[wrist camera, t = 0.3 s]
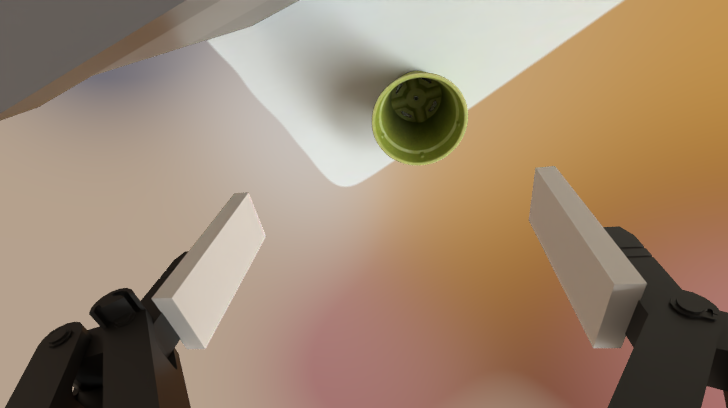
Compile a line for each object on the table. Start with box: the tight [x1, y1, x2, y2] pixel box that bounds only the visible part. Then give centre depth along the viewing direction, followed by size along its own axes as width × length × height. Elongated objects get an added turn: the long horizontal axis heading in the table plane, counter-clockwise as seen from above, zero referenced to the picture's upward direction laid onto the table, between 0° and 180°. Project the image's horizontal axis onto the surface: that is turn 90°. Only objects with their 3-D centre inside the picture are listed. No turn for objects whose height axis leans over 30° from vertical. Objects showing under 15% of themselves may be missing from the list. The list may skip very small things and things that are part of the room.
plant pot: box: [372, 71, 468, 165], centre depth 37 cm, size 9×9×9 cm
